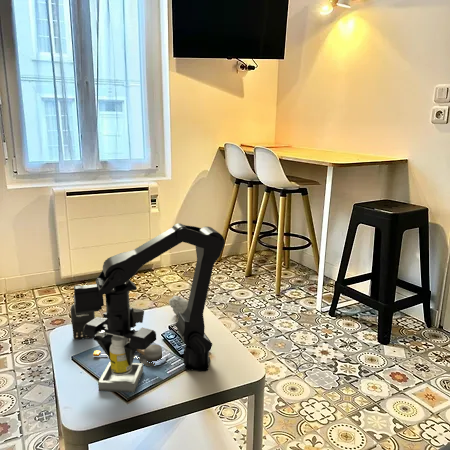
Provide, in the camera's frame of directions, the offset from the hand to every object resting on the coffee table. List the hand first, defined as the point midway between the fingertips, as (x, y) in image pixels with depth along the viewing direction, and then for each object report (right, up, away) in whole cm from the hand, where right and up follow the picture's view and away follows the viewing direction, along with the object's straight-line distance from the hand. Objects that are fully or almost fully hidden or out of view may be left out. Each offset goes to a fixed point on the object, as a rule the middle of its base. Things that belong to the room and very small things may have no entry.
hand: (121, 361), depth 112 cm
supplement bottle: (0, -3, +1) cm, 3 cm away
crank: (+2, -1, +15) cm, 15 cm away
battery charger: (-17, 0, +23) cm, 28 cm away
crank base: (0, -3, +12) cm, 12 cm away
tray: (0, -5, +1) cm, 6 cm away
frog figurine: (+11, +4, +39) cm, 40 cm away
